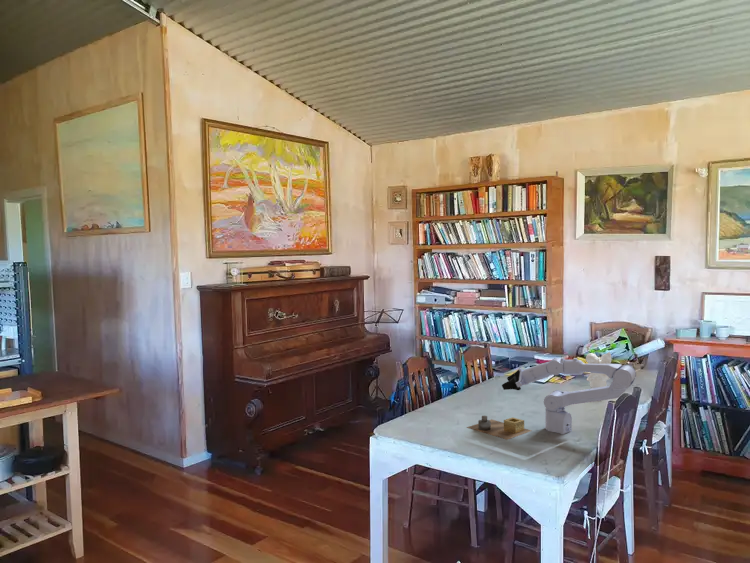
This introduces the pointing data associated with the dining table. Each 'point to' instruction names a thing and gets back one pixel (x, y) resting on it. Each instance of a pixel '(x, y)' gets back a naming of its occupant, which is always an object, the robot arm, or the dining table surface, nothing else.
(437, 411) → the dining table surface
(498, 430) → the peg board
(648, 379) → the dining table surface
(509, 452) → the dining table surface
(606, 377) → the cherub figurine
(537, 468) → the dining table surface
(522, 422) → the brass collar
